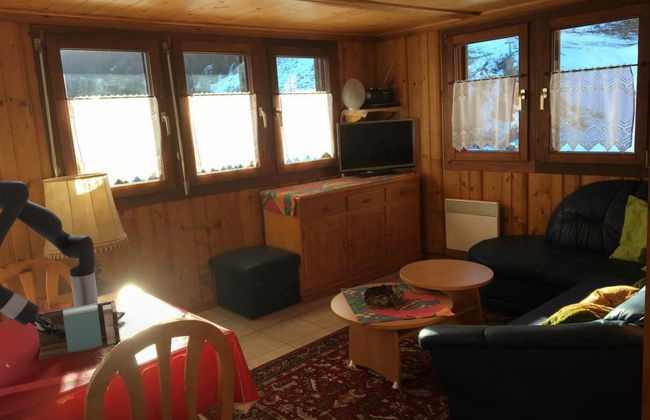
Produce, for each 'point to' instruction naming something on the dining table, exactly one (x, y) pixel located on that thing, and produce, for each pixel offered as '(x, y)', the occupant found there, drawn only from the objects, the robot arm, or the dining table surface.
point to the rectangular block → (82, 328)
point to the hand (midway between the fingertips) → (64, 336)
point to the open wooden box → (58, 346)
